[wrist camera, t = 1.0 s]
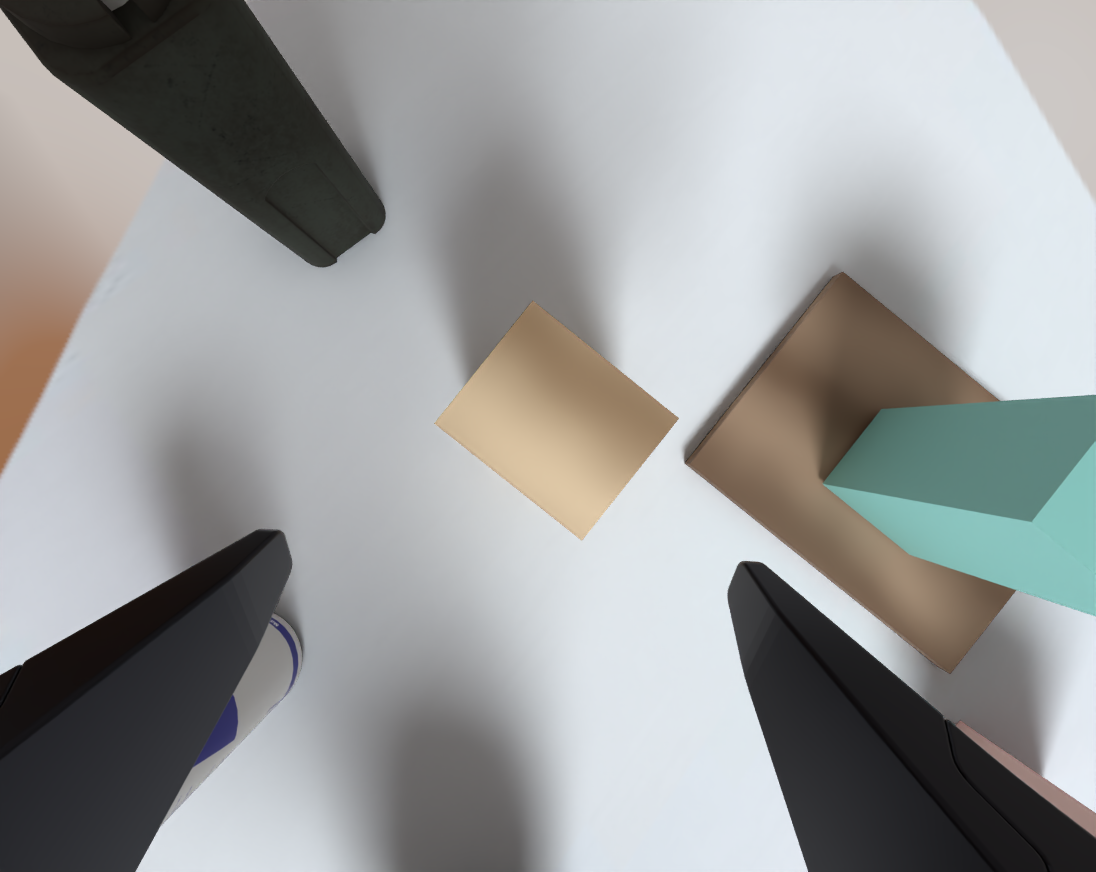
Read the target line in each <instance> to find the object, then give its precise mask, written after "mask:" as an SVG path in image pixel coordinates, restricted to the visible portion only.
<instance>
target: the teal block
mask: <svg viewBox="0 0 1096 872" xmlns="http://www.w3.org/2000/svg"><path fill="white" fill-rule="evenodd" d="M822 484H823V485H824V486H825V487H827V488H828V489H829V490H830V491H832V492H833V493H834V494H835V495H836V496H838V497H839V498H840V499H841V500H843V501H844V502H845V503H846V504H848V505H849V506H850V507H851V508H853V509H854V510H855V511H856V512H857V513H859V514H860V515H861V516H862V517H864V518H865V519H866V520H867V521H869V522H870V523H871V524H872V525H874V526H875V527H876V528H877V529H878V530H880V531H881V532H882V533H883V534H885V535H886V536H887V537H888V538H890V539H891V540H892V541H893V542H895V543H896V544H897V545H898V546H899V547H901V548H902V549H903V550H904V551H906V552H907V553H908V554H909V555H912V556H915V557H918V558H921V559H924V560H927V561H930V562H933V563H936V564H939V565H942V566H945V567H948V568H951V569H954V570H957V571H960V572H963V573H966V574H969V575H972V576H975V577H978V578H981V579H984V580H987V581H990V582H993V583H996V584H999V585H1002V586H1005V587H1009V588H1012V589H1015V590H1018V591H1021V592H1024V593H1027V594H1030V595H1033V596H1036V597H1039V598H1042V599H1045V600H1048V601H1051V602H1054V603H1057V604H1060V605H1063V606H1066V607H1069V608H1072V609H1075V610H1078V611H1081V612H1084V613H1087V614H1090V615H1093V616H1096V395H1086V396H1071V397H1056V398H1041V399H1026V400H1011V401H996V402H981V403H966V404H951V405H936V406H921V407H906V408H891V409H881V410H880V411H879V413H878V414H877V415H876V417H875V418H874V419H873V420H872V422H871V423H870V424H869V425H868V427H867V428H866V429H865V430H864V432H863V433H862V434H861V435H860V437H859V438H858V439H857V440H856V442H855V443H854V444H853V446H852V447H851V448H850V449H849V451H848V452H847V453H846V454H845V456H844V457H843V458H842V459H841V461H840V462H839V463H838V464H837V466H836V467H835V468H834V470H833V471H832V472H831V473H830V475H829V476H828V477H827V478H826V480H825V481H824V482H823V483H822Z"/></svg>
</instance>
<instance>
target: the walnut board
mask: <svg viewBox="0 0 1096 872" xmlns="http://www.w3.org/2000/svg"><path fill="white" fill-rule="evenodd" d="M996 401H999V400H998V399H997V398H995V397H994V396H993V395H992V394H991V393H989V392H988V391H987V390H986V389H985V388H983V387H982V386H981V385H980V384H978V383H977V382H976V381H975V380H974V379H972V378H971V377H970V376H969V375H968V374H966V373H965V372H964V371H963V370H962V369H960V368H959V367H958V366H957V365H955V364H954V363H953V362H952V361H951V360H949V359H948V358H947V357H946V356H945V355H943V354H942V353H941V352H940V351H938V350H937V349H936V348H935V347H934V346H932V345H931V344H930V343H929V342H928V341H926V340H925V339H924V338H923V337H922V336H920V335H919V334H918V333H917V332H915V331H914V330H913V329H912V328H911V327H909V326H908V325H907V324H906V323H905V322H903V321H902V320H901V319H900V318H898V317H897V316H896V315H895V314H894V313H892V312H891V311H890V310H889V309H888V308H886V307H885V306H884V305H883V304H882V303H880V302H879V301H878V300H877V299H875V298H874V297H873V296H872V295H871V294H869V293H868V292H867V291H866V290H865V289H863V288H862V287H861V286H860V285H858V284H857V283H856V282H855V281H854V280H852V279H851V278H850V277H849V276H848V275H846V274H845V273H844V272H841V273H839V274H837V275H836V276H834V277H832V279H831V280H830V281H829V282H828V284H827V285H826V286H825V288H824V289H823V290H822V291H821V293H820V294H819V295H818V296H817V298H816V299H815V300H814V301H813V303H812V304H811V305H810V306H809V308H808V309H807V310H806V311H805V313H804V314H803V315H802V316H801V318H800V319H799V320H798V321H797V323H796V324H795V325H794V326H793V328H792V329H791V330H790V332H789V333H788V334H787V335H786V337H785V338H784V339H783V340H782V342H781V343H780V344H779V345H778V347H777V348H776V349H775V350H774V352H773V353H772V354H771V355H770V357H769V358H768V359H767V360H766V362H765V363H764V364H763V365H762V367H761V368H760V369H759V370H758V372H757V373H756V374H755V376H754V377H753V378H752V379H751V381H750V382H749V383H748V384H747V386H746V387H745V388H744V389H743V391H742V392H741V393H740V394H739V396H738V397H737V398H736V399H735V401H734V402H733V403H732V404H731V406H730V407H729V408H728V409H727V411H726V412H725V413H724V414H723V416H722V417H721V418H720V420H719V421H718V422H717V423H716V425H715V426H714V427H713V428H712V430H711V431H710V432H709V433H708V435H707V436H706V437H705V438H704V440H703V441H702V442H701V443H700V445H699V446H698V447H697V448H696V450H695V451H694V452H693V453H692V455H691V456H690V457H689V458H688V460H687V461H686V462H685V464H686V465H687V466H689V467H690V468H691V469H692V470H694V471H695V472H696V473H697V474H699V475H700V476H701V477H702V478H704V479H705V480H706V481H707V482H709V483H710V484H711V485H712V486H714V487H715V488H716V489H717V490H719V491H720V492H721V493H722V494H724V495H725V496H726V497H727V498H728V499H730V500H731V501H732V502H733V503H735V504H736V505H737V506H738V507H740V508H741V509H742V510H743V511H745V512H746V513H747V514H748V515H750V516H751V517H752V518H753V519H755V520H756V521H757V522H758V523H760V524H761V525H762V526H763V527H765V528H766V529H767V530H768V531H770V532H771V533H772V534H773V535H774V536H776V537H777V538H778V539H779V540H781V541H782V542H783V543H784V544H786V545H787V546H788V547H789V548H791V549H792V550H793V551H794V552H796V553H797V554H798V555H799V556H801V557H802V558H803V559H804V560H806V561H807V562H808V563H809V564H811V565H812V566H813V567H814V568H816V569H817V570H818V571H819V572H821V573H822V574H823V575H824V576H825V577H827V578H828V579H829V580H830V581H832V582H833V583H834V584H835V585H837V586H838V587H839V588H840V589H842V590H843V591H844V592H845V593H847V594H848V595H849V596H850V597H852V598H853V599H854V600H855V601H857V602H858V603H859V604H860V605H862V606H863V607H864V608H865V609H867V610H868V611H869V612H870V613H872V614H873V615H874V616H875V617H876V618H878V619H879V620H880V621H881V622H883V623H884V624H885V625H886V626H888V627H889V628H890V629H891V630H893V631H894V632H895V633H896V634H898V635H899V636H900V637H901V638H903V639H904V640H905V641H906V642H908V643H909V644H910V645H911V646H913V647H914V648H915V649H916V650H918V651H919V652H920V653H921V654H922V655H924V656H925V657H926V658H927V659H929V660H930V661H931V662H932V663H934V664H935V665H936V666H938V667H939V668H941V669H943V670H944V671H946V672H948V673H949V674H951V672H952V671H953V670H954V669H955V667H956V666H957V665H958V663H959V662H960V661H961V660H962V658H963V657H964V656H965V655H966V653H967V652H968V651H969V650H970V648H971V647H972V646H973V644H974V643H975V642H976V641H977V639H978V638H979V637H980V636H981V634H982V633H983V632H984V630H985V629H986V628H987V627H988V625H989V624H990V623H991V622H992V620H993V619H994V618H995V616H996V615H997V614H998V613H999V611H1000V610H1001V609H1002V608H1003V606H1004V605H1005V604H1006V603H1007V601H1008V600H1009V599H1010V597H1011V596H1012V595H1013V594H1014V592H1015V591H1016V590H1015V589H1012V588H1009V587H1005V586H1002V585H999V584H996V583H993V582H990V581H987V580H984V579H981V578H978V577H975V576H972V575H969V574H966V573H963V572H960V571H957V570H954V569H951V568H948V567H945V566H942V565H939V564H936V563H933V562H930V561H927V560H924V559H921V558H918V557H915V556H912V555H909V554H908V553H907V552H906V551H904V550H903V549H902V548H901V547H899V546H898V545H897V544H896V543H895V542H893V541H892V540H891V539H890V538H888V537H887V536H886V535H885V534H883V533H882V532H881V531H880V530H878V529H877V528H876V527H875V526H874V525H872V524H871V523H870V522H869V521H867V520H866V519H865V518H864V517H862V516H861V515H860V514H859V513H857V512H856V511H855V510H854V509H853V508H851V507H850V506H849V505H848V504H846V503H845V502H844V501H843V500H841V499H840V498H839V497H838V496H836V495H835V494H834V493H833V492H832V491H830V490H829V489H828V488H827V487H825V486H824V485H823V484H822V483H823V482H824V481H825V480H826V478H827V477H828V476H829V475H830V473H831V472H832V471H833V470H834V468H835V467H836V466H837V464H838V463H839V462H840V461H841V459H842V458H843V457H844V456H845V454H846V453H847V452H848V451H849V449H850V448H851V447H852V446H853V444H854V443H855V442H856V440H857V439H858V438H859V437H860V435H861V434H862V433H863V432H864V430H865V429H866V428H867V427H868V425H869V424H870V423H871V422H872V420H873V419H874V418H875V417H876V415H877V414H878V413H879V411H880V410H881V409H891V408H906V407H921V406H936V405H951V404H966V403H981V402H996Z"/></svg>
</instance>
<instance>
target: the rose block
mask: <svg viewBox="0 0 1096 872" xmlns="http://www.w3.org/2000/svg"><path fill="white" fill-rule="evenodd" d="M956 726H957V727H958V728H959V729H960V730H961V731H962V732H964V733H965V734H966V735H967V736H968V737H970V738H971V739H972V740H973V741H974V742H976V743H977V744H978V745H979V746H980V747H982V748H983V749H984V750H985V751H986V752H988V753H989V754H990V755H991V756H993V757H994V758H995V759H996V760H997V761H999V762H1000V763H1001V764H1002V765H1003V766H1005V767H1006V768H1007V769H1008V770H1010V771H1011V772H1012V773H1013V774H1014V775H1016V776H1017V777H1018V778H1020V779H1021V780H1022V781H1023V782H1025V783H1026V784H1027V785H1028V786H1030V787H1031V788H1032V789H1034V790H1035V791H1036V792H1037V793H1039V794H1040V795H1041V796H1043V797H1044V798H1045V799H1046V800H1048V801H1049V802H1050V803H1051V804H1053V805H1054V806H1055V807H1057V808H1058V809H1059V810H1060V811H1062V812H1063V813H1064V814H1066V815H1067V816H1068V817H1070V818H1071V819H1072V820H1073V821H1075V822H1076V823H1077V824H1079V825H1080V826H1081V827H1083V828H1084V829H1085V830H1087V831H1088V832H1089V833H1090V834H1092V835H1093V836H1094V837H1096V813H1095V812H1093V811H1092V810H1090V809H1089V808H1087V807H1086V806H1084V805H1083V804H1081V803H1080V802H1079V801H1077V800H1076V799H1074V798H1073V797H1071V796H1070V795H1068V794H1067V793H1065V792H1064V791H1062V790H1061V789H1060V788H1058V787H1057V786H1055V785H1054V784H1052V783H1051V782H1049V781H1048V780H1046V779H1045V778H1043V777H1042V776H1040V775H1039V774H1038V773H1036V772H1035V771H1033V770H1032V769H1030V768H1029V767H1027V766H1026V765H1024V764H1023V763H1021V762H1020V761H1019V760H1017V759H1016V758H1014V757H1013V756H1011V755H1010V754H1008V753H1007V752H1005V751H1004V750H1002V749H1001V748H1000V747H998V746H997V745H995V744H994V743H992V742H991V741H989V740H988V739H986V738H985V737H983V736H982V735H981V734H979V733H978V732H976V731H975V730H973V729H972V728H970V727H969V726H967V725H966V724H964V723H963V722H962V721H959V722H958V723H957V725H956Z"/></svg>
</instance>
